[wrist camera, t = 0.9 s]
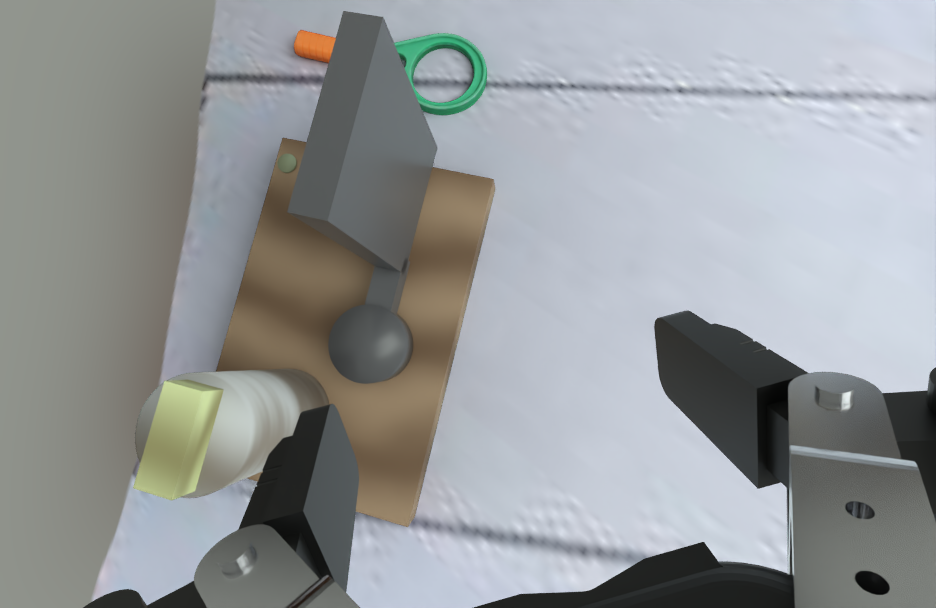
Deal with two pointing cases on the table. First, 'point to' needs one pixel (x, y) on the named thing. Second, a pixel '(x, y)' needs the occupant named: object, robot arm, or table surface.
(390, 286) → the grey panel with handle
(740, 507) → the table surface
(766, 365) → the robot arm
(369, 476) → the base
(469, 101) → the magnifying glass
